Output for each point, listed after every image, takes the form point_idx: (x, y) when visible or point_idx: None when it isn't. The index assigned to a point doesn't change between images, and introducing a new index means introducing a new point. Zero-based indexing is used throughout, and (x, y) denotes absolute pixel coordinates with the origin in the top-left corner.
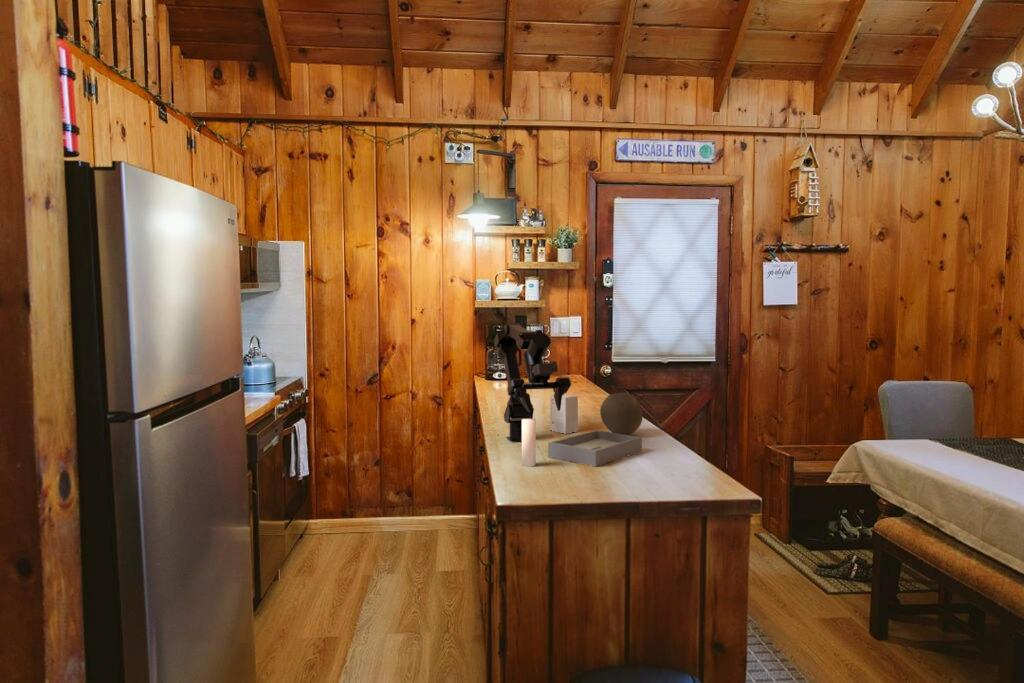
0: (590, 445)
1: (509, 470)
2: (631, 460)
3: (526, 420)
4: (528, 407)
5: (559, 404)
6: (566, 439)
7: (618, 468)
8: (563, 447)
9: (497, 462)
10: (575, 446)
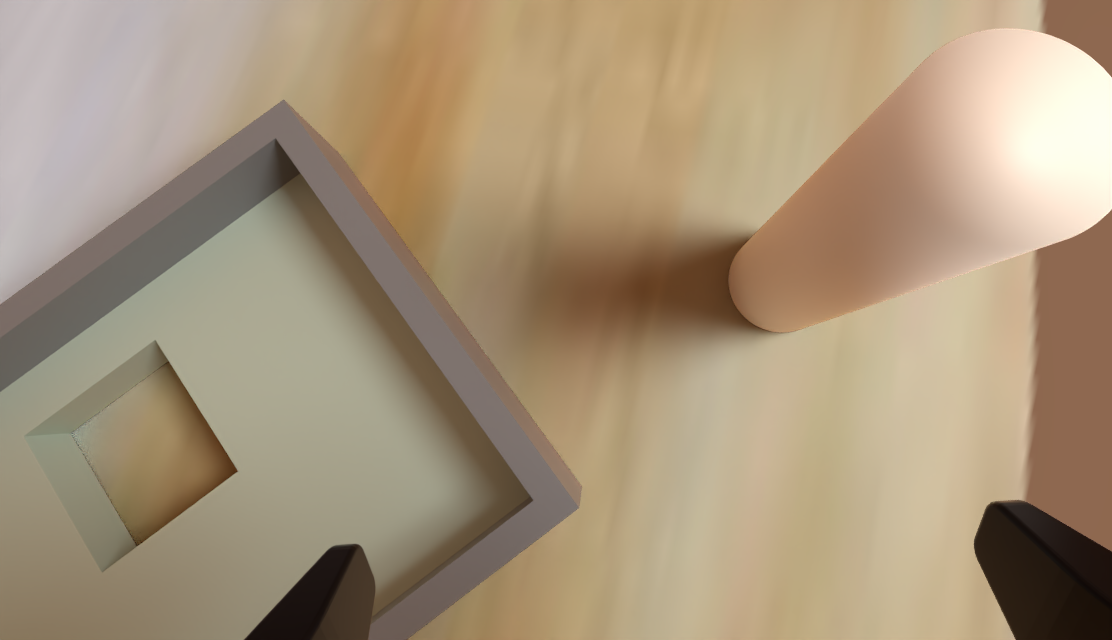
0: (168, 615)
1: None
2: None
3: (1057, 96)
4: (1095, 545)
5: (286, 631)
6: None
7: (212, 97)
8: (475, 362)
9: (1009, 409)
10: None
